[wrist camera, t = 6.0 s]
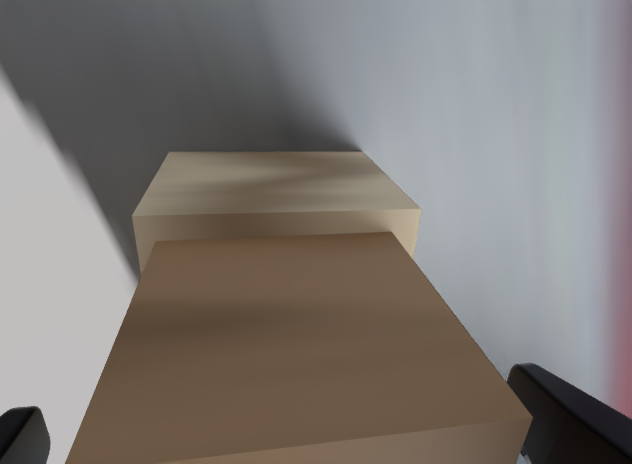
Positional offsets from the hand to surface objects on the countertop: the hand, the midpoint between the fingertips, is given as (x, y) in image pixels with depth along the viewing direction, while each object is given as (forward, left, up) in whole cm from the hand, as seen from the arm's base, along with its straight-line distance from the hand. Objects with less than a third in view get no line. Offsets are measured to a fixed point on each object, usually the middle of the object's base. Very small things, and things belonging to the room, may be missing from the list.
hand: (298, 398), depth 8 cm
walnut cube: (0, 0, -2) cm, 2 cm away
